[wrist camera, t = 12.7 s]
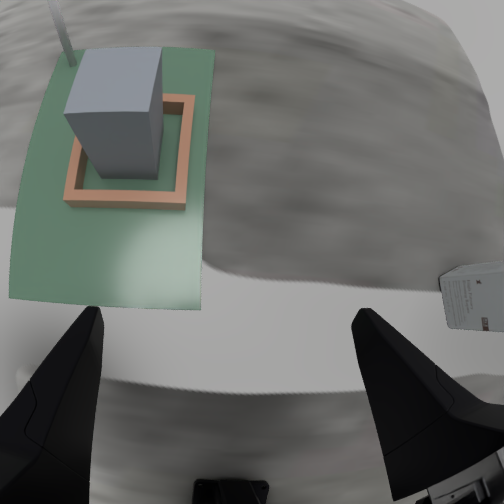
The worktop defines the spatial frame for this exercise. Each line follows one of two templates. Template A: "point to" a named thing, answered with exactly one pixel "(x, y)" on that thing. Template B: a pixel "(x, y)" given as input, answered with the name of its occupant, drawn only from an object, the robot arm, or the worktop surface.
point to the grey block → (119, 110)
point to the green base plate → (114, 201)
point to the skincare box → (474, 297)
